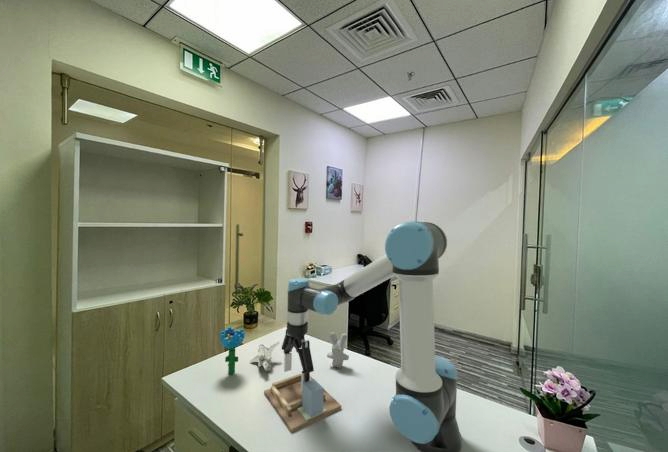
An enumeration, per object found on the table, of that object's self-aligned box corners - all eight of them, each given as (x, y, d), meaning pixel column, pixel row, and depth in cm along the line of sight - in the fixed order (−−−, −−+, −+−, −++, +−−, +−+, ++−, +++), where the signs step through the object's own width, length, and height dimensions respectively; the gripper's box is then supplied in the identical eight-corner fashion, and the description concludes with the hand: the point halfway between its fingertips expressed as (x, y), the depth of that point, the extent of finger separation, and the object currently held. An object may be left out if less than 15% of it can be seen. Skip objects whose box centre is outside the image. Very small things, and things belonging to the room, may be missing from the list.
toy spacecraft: (274, 334, 123) (245, 353, 120) (276, 351, 108) (242, 374, 106) (283, 347, 125) (254, 367, 122) (286, 366, 110) (253, 389, 107)
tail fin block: (322, 412, 88) (323, 388, 88) (311, 417, 85) (311, 392, 85) (313, 401, 93) (314, 378, 93) (301, 406, 90) (302, 383, 90)
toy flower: (234, 381, 105) (235, 336, 105) (214, 377, 108) (215, 333, 108) (247, 369, 114) (248, 327, 114) (229, 365, 117) (230, 324, 116)
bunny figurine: (349, 365, 120) (350, 332, 119) (347, 371, 115) (348, 337, 114) (328, 362, 122) (329, 329, 121) (325, 368, 117) (326, 334, 116)
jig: (341, 409, 92) (341, 400, 92) (291, 433, 81) (291, 423, 81) (308, 377, 110) (309, 370, 110) (264, 393, 99) (264, 385, 99)
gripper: (325, 331, 89) (323, 394, 90) (291, 309, 110) (289, 361, 110) (305, 336, 85) (303, 402, 85) (274, 313, 105) (272, 366, 106)
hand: (295, 379), depth 98 cm, fingers open, 13 cm apart
